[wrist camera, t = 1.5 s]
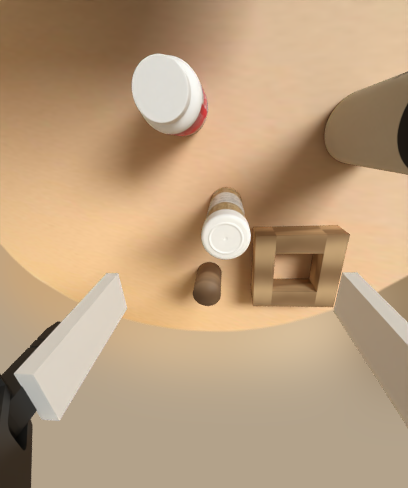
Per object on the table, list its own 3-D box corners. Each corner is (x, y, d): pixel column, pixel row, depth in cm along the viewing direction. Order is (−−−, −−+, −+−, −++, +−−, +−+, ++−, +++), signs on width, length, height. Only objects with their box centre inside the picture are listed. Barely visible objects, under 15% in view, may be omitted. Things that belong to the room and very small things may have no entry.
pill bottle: (218, 112, 27) (214, 95, 17) (182, 146, 29) (159, 149, 19) (185, 65, 26) (159, 16, 16) (149, 105, 28) (106, 84, 18)
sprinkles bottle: (228, 223, 33) (229, 269, 21) (204, 204, 32) (190, 242, 20) (248, 199, 31) (262, 235, 19) (223, 179, 31) (221, 204, 18)
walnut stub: (197, 262, 37) (191, 283, 31) (221, 262, 36) (220, 283, 31) (198, 282, 38) (194, 305, 33) (221, 282, 38) (220, 306, 32)
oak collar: (253, 227, 33) (256, 236, 30) (337, 225, 32) (349, 234, 29) (251, 292, 38) (253, 305, 35) (323, 292, 37) (333, 306, 34)
